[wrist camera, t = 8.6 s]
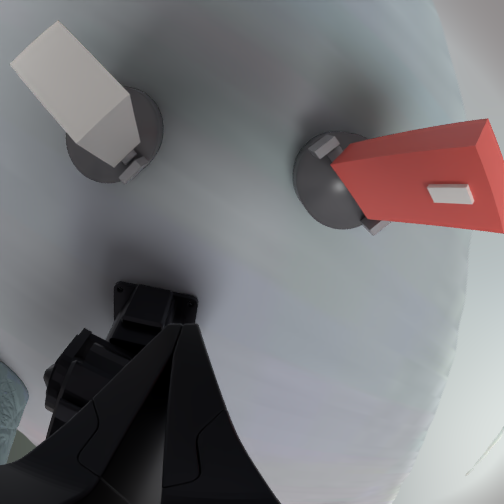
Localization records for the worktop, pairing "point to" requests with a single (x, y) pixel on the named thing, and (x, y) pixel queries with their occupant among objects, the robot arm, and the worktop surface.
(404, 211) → the block
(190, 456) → the robot arm
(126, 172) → the grey switch base
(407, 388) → the worktop surface
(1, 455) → the grey green cup
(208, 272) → the worktop surface
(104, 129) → the block
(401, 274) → the worktop surface
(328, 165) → the dark rounded piece
